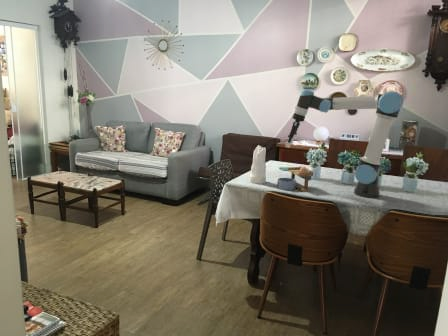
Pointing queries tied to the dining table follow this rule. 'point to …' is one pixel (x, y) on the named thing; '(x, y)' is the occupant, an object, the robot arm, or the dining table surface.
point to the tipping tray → (298, 171)
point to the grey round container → (286, 183)
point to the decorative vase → (258, 166)
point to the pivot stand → (301, 187)
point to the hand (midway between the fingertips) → (288, 145)
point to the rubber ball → (303, 169)
